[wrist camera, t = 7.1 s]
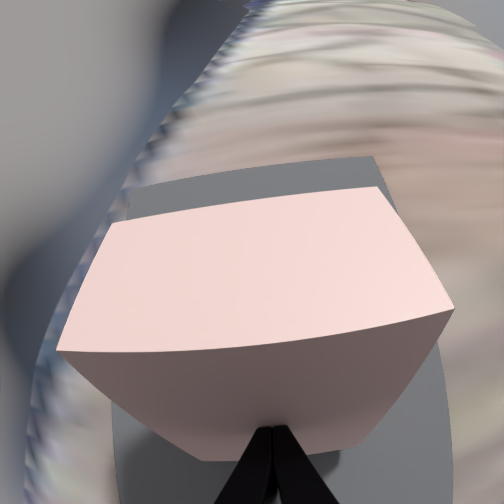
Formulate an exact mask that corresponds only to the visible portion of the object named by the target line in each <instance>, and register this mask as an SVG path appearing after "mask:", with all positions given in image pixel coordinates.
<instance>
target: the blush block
mask: <svg viewBox="0 0 504 504" xmlns="http://www.w3.org/2000/svg"><path fill="white" fill-rule="evenodd" d="M454 309H455V308H454V306H453V304H452V302H451V300H450V298H449V296H448V295H447V293H446V291H445V289H444V287H443V286H442V284H441V282H440V280H439V279H438V277H437V275H436V273H435V272H434V270H433V268H432V267H431V265H430V263H429V262H428V260H427V259H426V257H425V255H424V254H423V252H422V251H421V249H420V247H419V246H418V244H417V243H416V241H415V240H414V238H413V237H412V235H411V234H410V232H409V231H408V229H407V228H406V226H405V225H404V223H403V222H402V220H401V219H400V217H399V216H398V215H397V213H396V212H395V210H394V209H393V207H392V206H391V205H390V203H389V202H388V201H387V199H386V198H385V196H384V195H383V194H382V192H381V191H380V190H379V188H378V187H377V186H376V187H364V188H353V189H342V190H332V191H322V192H313V193H304V194H295V195H287V196H279V197H271V198H263V199H256V200H248V201H241V202H234V203H227V204H221V205H214V206H207V207H201V208H195V209H189V210H183V211H177V212H171V213H165V214H159V215H154V216H148V217H143V218H137V219H132V220H127V221H121V222H116V223H112V225H111V227H110V229H109V230H108V232H107V234H106V236H105V238H104V240H103V242H102V244H101V246H100V248H99V250H98V252H97V254H96V256H95V258H94V260H93V262H92V264H91V266H90V269H89V271H88V273H87V275H86V277H85V279H84V282H83V284H82V286H81V288H80V291H79V293H78V295H77V298H76V300H75V302H74V305H73V307H72V310H71V312H70V314H69V317H68V320H67V322H66V325H65V327H64V330H63V333H62V335H61V338H60V341H59V343H58V346H57V349H56V351H57V352H58V353H59V354H60V355H61V356H62V357H63V358H64V359H65V360H66V361H67V362H68V363H69V364H71V365H72V366H73V367H74V368H75V369H76V370H77V371H78V372H79V373H80V374H81V375H82V376H83V377H85V378H86V379H87V380H88V381H89V382H90V383H91V384H93V385H94V386H95V387H96V388H97V389H98V390H100V391H101V392H102V393H103V394H104V395H106V396H107V397H108V398H109V399H111V400H112V401H113V402H114V403H116V404H117V405H118V406H119V407H121V408H122V409H123V410H125V411H126V412H127V413H129V414H130V415H131V416H133V417H134V418H135V419H137V420H138V421H139V422H141V423H142V424H144V425H145V426H146V427H148V428H149V429H151V430H152V431H154V432H155V433H157V434H158V435H160V436H161V437H163V438H164V439H166V440H167V441H169V442H171V443H172V444H174V445H175V446H177V447H179V448H180V449H182V450H183V451H185V452H187V453H189V454H190V455H192V456H194V457H195V458H197V459H199V460H201V461H239V459H240V458H241V456H242V454H243V452H244V450H245V449H246V447H247V445H248V443H249V441H250V440H251V438H252V436H253V434H254V432H255V430H256V429H257V428H258V427H268V426H270V427H272V428H273V427H274V426H278V425H287V426H288V427H289V428H290V430H291V431H292V433H293V435H294V436H295V438H296V439H297V441H298V442H299V444H300V445H301V447H302V449H303V450H304V452H305V453H306V455H311V454H317V453H324V452H329V451H335V450H340V449H345V448H350V447H355V446H359V445H360V444H361V443H362V442H363V441H364V440H365V438H366V437H367V436H368V435H369V434H370V433H371V432H372V430H373V429H374V428H375V427H376V426H377V425H378V423H379V422H380V421H381V420H382V418H383V417H384V416H385V415H386V413H387V412H388V411H389V410H390V408H391V407H392V406H393V405H394V403H395V402H396V401H397V399H398V398H399V397H400V395H401V394H402V393H403V391H404V390H405V388H406V387H407V386H408V384H409V383H410V381H411V380H412V379H413V377H414V376H415V374H416V373H417V371H418V370H419V368H420V367H421V365H422V364H423V362H424V361H425V359H426V357H427V356H428V354H429V353H430V351H431V350H432V348H433V346H434V345H435V343H436V341H437V340H438V338H439V336H440V334H441V333H442V331H443V329H444V328H445V326H446V324H447V322H448V320H449V318H450V317H451V315H452V313H453V311H454Z"/></svg>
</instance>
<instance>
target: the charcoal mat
mask: <svg viewBox="0 0 504 504" xmlns="http://www.w3.org/2000/svg"><path fill="white" fill-rule="evenodd" d="M376 186H377V187H378V188H379V190H380V191H381V192H382V194H383V195H384V196H385V198H386V199H387V201H388V202H389V203H390V205H391V206H392V207H393V209H394V210H395V212H396V213H397V210H396V208H395V205H394V203H393V200H392V198H391V196H390V193H389V191H388V189H387V186H386V184H385V182H384V180H383V177H382V175H381V173H380V171H379V169H378V166H377V164H376V162H375V160H374V158H373V156H367V157H351V158H338V159H326V160H315V161H304V162H295V163H286V164H277V165H269V166H261V167H254V168H247V169H240V170H233V171H226V172H220V173H214V174H208V175H202V176H196V177H191V178H185V179H180V180H175V181H169V182H164V183H159V184H154V185H150V186H145V187H140V188H136V189H132V193H131V198H130V203H129V208H128V213H127V219H126V221H127V220H132V219H137V218H143V217H148V216H154V215H159V214H165V213H171V212H177V211H183V210H189V209H195V208H201V207H207V206H214V205H221V204H227V203H234V202H241V201H248V200H256V199H263V198H271V197H279V196H287V195H295V194H304V193H313V192H322V191H332V190H342V189H353V188H364V187H376ZM397 215H398V213H397ZM398 216H399V215H398ZM112 427H113V444H114V456H115V466H116V476H117V484H118V491H119V498H120V504H213V503H214V501H215V500H216V498H217V497H218V495H219V493H220V492H221V490H222V488H223V487H224V485H225V483H226V482H227V480H228V478H229V477H230V475H231V473H232V472H233V470H234V468H235V466H236V465H237V463H238V461H201V460H199V459H197V458H195V457H194V456H192V455H190V454H189V453H187V452H185V451H183V450H182V449H180V448H179V447H177V446H175V445H174V444H172V443H171V442H169V441H167V440H166V439H164V438H163V437H161V436H160V435H158V434H157V433H155V432H154V431H152V430H151V429H149V428H148V427H146V426H145V425H144V424H142V423H141V422H139V421H138V420H137V419H135V418H134V417H133V416H131V415H130V414H129V413H127V412H126V411H125V410H123V409H122V408H121V407H119V406H118V405H117V404H116V403H114V402H113V401H112ZM307 456H308V458H309V459H310V461H311V462H312V464H313V465H314V467H315V468H316V470H317V471H318V473H319V474H320V476H321V477H322V479H323V480H324V482H325V483H326V485H327V486H328V488H329V489H330V490H331V492H332V493H333V495H334V496H335V498H336V499H337V500H338V502H339V503H340V504H452V501H453V460H452V441H451V428H450V418H449V409H448V401H447V394H446V387H445V381H444V375H443V369H442V363H441V358H440V353H439V348H438V343H437V341H436V343H435V345H434V346H433V348H432V350H431V351H430V353H429V354H428V356H427V357H426V359H425V361H424V362H423V364H422V365H421V367H420V368H419V370H418V371H417V373H416V374H415V376H414V377H413V379H412V380H411V381H410V383H409V384H408V386H407V387H406V388H405V390H404V391H403V393H402V394H401V395H400V397H399V398H398V399H397V401H396V402H395V403H394V405H393V406H392V407H391V408H390V410H389V411H388V412H387V413H386V415H385V416H384V417H383V418H382V420H381V421H380V422H379V423H378V425H377V426H376V427H375V428H374V429H373V430H372V432H371V433H370V434H369V435H368V436H367V437H366V438H365V440H364V441H363V442H362V443H361V444H360V445H359V446H355V447H350V448H345V449H340V450H335V451H329V452H324V453H317V454H311V455H307ZM277 504H281V500H280V496H279V491H278V503H277Z"/></svg>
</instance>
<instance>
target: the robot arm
mask: <svg viewBox="0 0 504 504" xmlns="http://www.w3.org/2000/svg"><path fill="white" fill-rule="evenodd" d="M278 491H279V496H280V500H281V504H340V503H339V502H338V500H337V499H336V498H335V496H334V495H333V493H332V492H331V490H330V489H329V488H328V486H327V485H326V483H325V482H324V480H323V479H322V477H321V476H320V474H319V473H318V471H317V470H316V468H315V467H314V465H313V464H312V462H311V461H310V459H309V458H308V456H307V455H306V453H305V452H304V450H303V449H302V447H301V445H300V444H299V442H298V441H297V439H296V438H295V436H294V435H293V433H292V431H291V430H290V428H289V427H288V426H287V425H278V426H274V427H273V428H272V427H270V426H268V427H258V428H257V429H256V430H255V432H254V434H253V436H252V438H251V440H250V441H249V443H248V445H247V447H246V449H245V450H244V452H243V454H242V456H241V458H240V459H239V461H238V463H237V465H236V466H235V468H234V470H233V472H232V473H231V475H230V477H229V478H228V480H227V482H226V483H225V485H224V487H223V488H222V490H221V492H220V493H219V495H218V497H217V498H216V500H215V501H214V503H213V504H277V503H278Z"/></svg>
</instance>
